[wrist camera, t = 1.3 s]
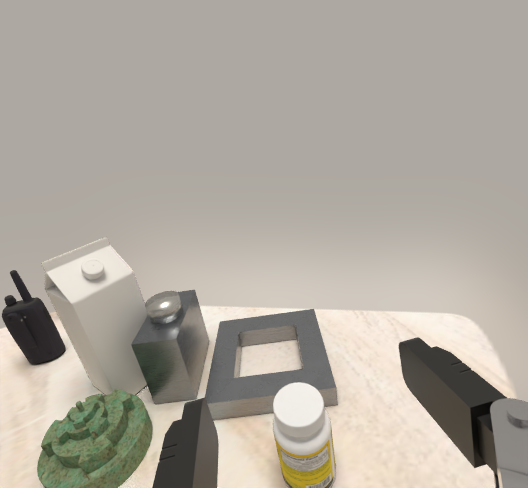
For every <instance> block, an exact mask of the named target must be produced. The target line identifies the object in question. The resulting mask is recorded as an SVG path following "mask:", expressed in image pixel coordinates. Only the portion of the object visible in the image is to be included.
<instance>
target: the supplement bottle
mask: <svg viewBox="0 0 528 488" xmlns="http://www.w3.org/2000/svg"><path fill="white" fill-rule="evenodd" d="M273 410H274V420H273V432H274V437H275V441H276V446H277V451H278V455H279V460H280V464H281V469H282V474H283V477H284V480H285V482H286V484H287V486H288V487H289V488H331V486H332V484H333V482H334V479H335V474H336V467H335V457H334V448H333V439H332V430H331V421H330V417H329V415H328V413H327V411H326V410H325V408H324V401H323V398H322V396H321V394H320V392H319V391H318V390H317V389H316V388H315V387H313V386H311V385H309V384H306V383H300V382H298V383H291V384H288V385H286V386H284V387H283V388H282V389H280V390H279V392H278V393H277V394H276V396H275V398H274V402H273Z"/></svg>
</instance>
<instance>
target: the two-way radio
mask: <svg viewBox="0 0 528 488" xmlns="http://www.w3.org/2000/svg"><path fill="white" fill-rule="evenodd" d="M10 274H11V277H12V279H13V281H14V283H15V285H16V287H17V289H18V291H19V293H20V295H21V297H22V299H23V300H21V301H17V302H16V299H15V298H14V297H13V296H12V295H9V296H7V297H5V303H6V305H7V306H6V308H5V309H4V310H3V313H2V318H3V321H4V322H5V325H6V327H7V328H8V330H9V332H10V334H11V335H12V337H13V338H14V340H15V341H16V343H17V344H18V346H19V347H20V349H21V350H22V352H23V353H24V355H25V356H26V358H27V359H28V361H29V362H30V363H31V364H36V363H41V362H45V361H49V360H52V359H54V358H56V357H58V356H59V355H61V354H62V353H63V352H64V350H65V345H64V343H63V341H62V339H61V337H60V334H59V332H58V330H57V328H56V326H55V324H54V322H53V320H52V318H51V316H50V314H49V312H48V311H47V309H46V307H45V305H44V303H43V302H42V301H41V299H39V298H32V297H31V295H30V293H29V292H28V290H27V288H26V286H25V284H24V283H23V281H22V279H21V278H20V276H19V274H18V273H17V271H15V270H13V271H11V272H10Z"/></svg>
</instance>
